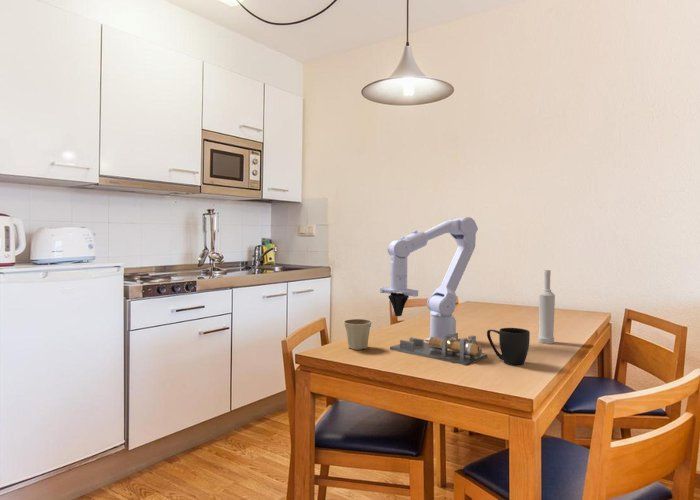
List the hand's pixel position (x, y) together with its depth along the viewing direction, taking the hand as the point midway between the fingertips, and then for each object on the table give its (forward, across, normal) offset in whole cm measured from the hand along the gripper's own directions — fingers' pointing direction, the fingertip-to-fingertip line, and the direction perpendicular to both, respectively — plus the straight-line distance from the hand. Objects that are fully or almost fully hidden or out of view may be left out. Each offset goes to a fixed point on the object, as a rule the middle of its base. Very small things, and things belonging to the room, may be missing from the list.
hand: (398, 315), depth 158 cm
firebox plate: (+9, +16, -2) cm, 19 cm away
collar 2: (+9, +27, -2) cm, 29 cm away
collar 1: (+9, +21, -2) cm, 23 cm away
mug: (+10, +37, +3) cm, 38 cm away
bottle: (+10, +36, +37) cm, 53 cm away
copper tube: (+8, +23, -2) cm, 24 cm away
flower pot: (+10, -6, -14) cm, 18 cm away
